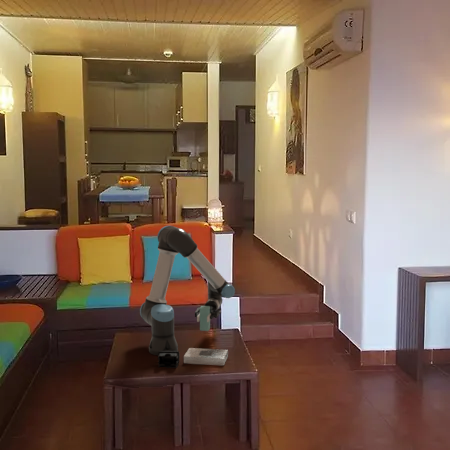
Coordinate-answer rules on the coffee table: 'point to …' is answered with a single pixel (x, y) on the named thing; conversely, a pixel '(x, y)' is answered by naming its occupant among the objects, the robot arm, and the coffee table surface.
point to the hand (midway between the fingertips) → (202, 319)
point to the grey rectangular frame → (206, 356)
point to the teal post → (204, 318)
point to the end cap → (168, 359)
